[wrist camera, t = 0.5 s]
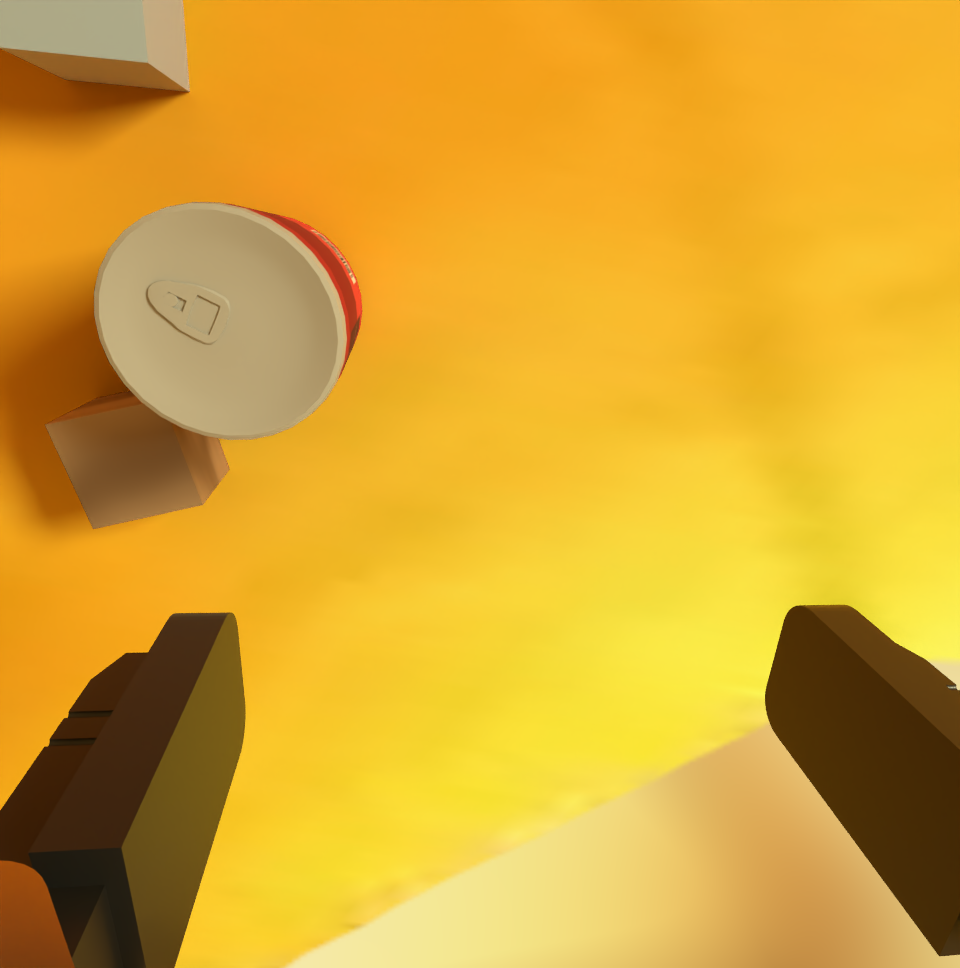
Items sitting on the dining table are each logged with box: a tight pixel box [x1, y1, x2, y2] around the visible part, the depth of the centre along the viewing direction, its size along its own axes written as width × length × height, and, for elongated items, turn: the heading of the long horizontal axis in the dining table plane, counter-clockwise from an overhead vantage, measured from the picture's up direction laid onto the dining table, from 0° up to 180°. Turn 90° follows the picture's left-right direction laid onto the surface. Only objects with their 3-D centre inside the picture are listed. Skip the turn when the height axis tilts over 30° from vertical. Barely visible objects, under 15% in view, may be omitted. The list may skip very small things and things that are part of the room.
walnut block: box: [45, 391, 229, 529], centre depth 31 cm, size 5×5×5 cm
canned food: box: [94, 202, 362, 440], centre depth 26 cm, size 8×8×11 cm
